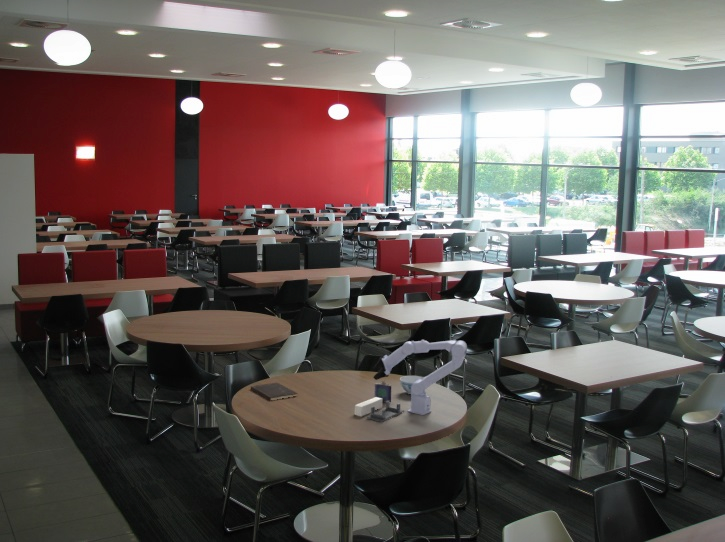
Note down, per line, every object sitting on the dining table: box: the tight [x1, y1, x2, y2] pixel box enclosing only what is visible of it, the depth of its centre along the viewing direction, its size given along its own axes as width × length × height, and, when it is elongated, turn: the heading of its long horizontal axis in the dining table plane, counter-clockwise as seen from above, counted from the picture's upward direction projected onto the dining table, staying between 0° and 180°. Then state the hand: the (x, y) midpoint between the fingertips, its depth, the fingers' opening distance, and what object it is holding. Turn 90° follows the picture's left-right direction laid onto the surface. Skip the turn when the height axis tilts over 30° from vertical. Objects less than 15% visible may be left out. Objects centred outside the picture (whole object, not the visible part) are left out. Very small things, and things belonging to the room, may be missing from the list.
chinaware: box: [399, 375, 425, 395], centre depth 393 cm, size 15×15×8 cm
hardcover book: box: [250, 382, 299, 401], centre depth 386 cm, size 16×23×2 cm
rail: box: [354, 397, 383, 417], centre depth 361 cm, size 4×18×5 cm, turn 144°
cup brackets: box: [366, 401, 405, 423], centre depth 355 cm, size 8×20×5 cm, turn 145°
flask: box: [373, 380, 392, 403], centre depth 378 cm, size 9×3×11 cm, turn 65°
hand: (374, 374), depth 367 cm, fingers open, 7 cm apart
